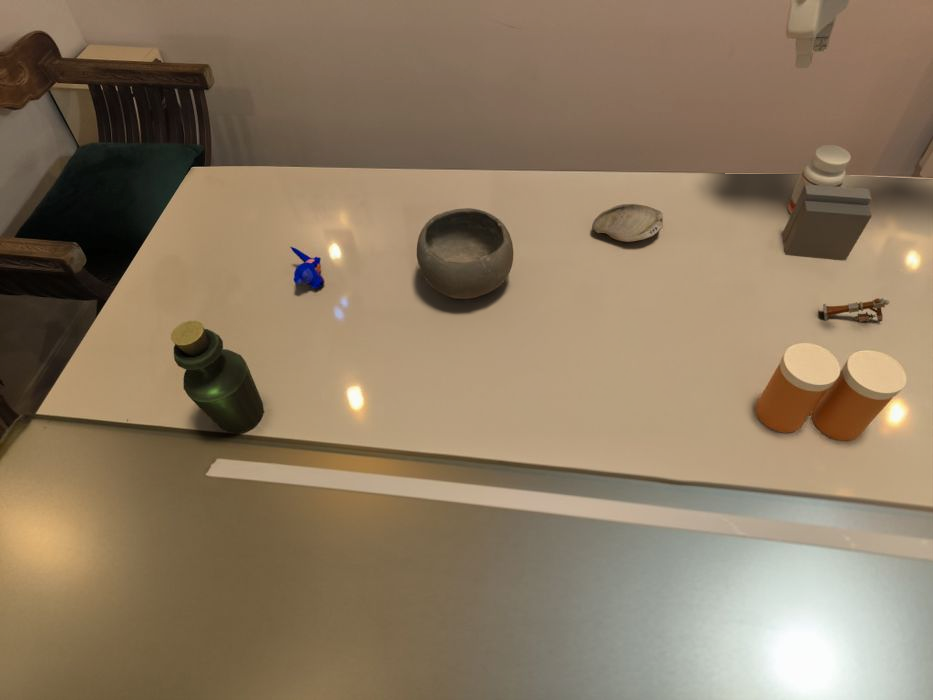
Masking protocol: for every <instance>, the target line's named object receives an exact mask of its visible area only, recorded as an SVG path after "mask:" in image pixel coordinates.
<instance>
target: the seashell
mask: <svg viewBox="0 0 933 700" xmlns="http://www.w3.org/2000/svg"><path fill="white" fill-rule="evenodd" d="M663 227H664V214H663V212H662V211H661V210H659V209H656V208H653V207H651V206H648V205H644V204H637V203H625V204H623V203H622V204H618V205H614V206H613V207H611V208H609V209H606V210H604V211H602V212H600V213H599V214H598V215H597V216H596V217H595V218H594V220H593V222H592V225H591V228H592V229H593V231H595V232H596V233H597V234H601V233H602V234H607V235H608V236H609V237H610V238H612V239H614V240H616V241H619V242H627V243H628V242H630V243H631V242H636V241H642V240H645V239H646V240H647V239H648V238H651V237H653V236H654V235H656V234H657V233H658V232H659V231H660V230H661V229H663Z"/></svg>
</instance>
